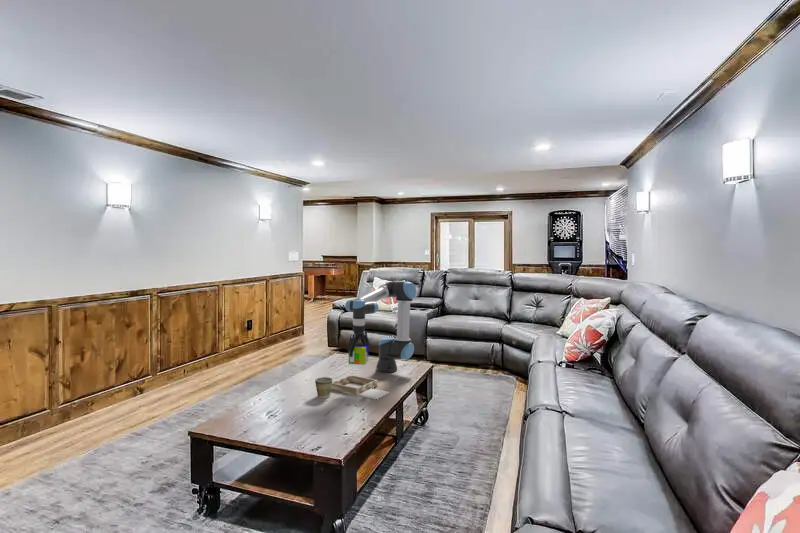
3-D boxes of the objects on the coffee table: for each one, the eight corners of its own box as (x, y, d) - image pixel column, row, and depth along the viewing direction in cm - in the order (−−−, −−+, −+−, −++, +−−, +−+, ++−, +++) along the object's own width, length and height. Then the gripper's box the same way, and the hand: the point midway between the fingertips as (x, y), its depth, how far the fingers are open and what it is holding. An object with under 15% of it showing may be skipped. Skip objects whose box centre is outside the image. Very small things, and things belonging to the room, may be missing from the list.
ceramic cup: (328, 399, 249) (328, 382, 248) (312, 398, 251) (312, 381, 250) (336, 392, 261) (336, 376, 261) (320, 391, 263) (320, 375, 263)
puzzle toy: (368, 360, 272) (368, 344, 271) (364, 364, 262) (364, 348, 261) (352, 359, 273) (352, 344, 273) (348, 363, 263) (348, 347, 263)
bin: (350, 381, 285) (350, 375, 285) (377, 386, 275) (377, 380, 275) (330, 389, 267) (330, 383, 267) (357, 395, 257) (357, 388, 256)
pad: (371, 389, 267) (371, 388, 267) (389, 393, 261) (389, 391, 261) (359, 395, 256) (359, 394, 256) (377, 399, 249) (377, 398, 249)
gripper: (365, 321, 279) (365, 354, 280) (341, 327, 258) (341, 362, 259) (375, 323, 275) (375, 356, 276) (351, 328, 254) (350, 364, 255)
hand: (358, 359), depth 267 cm, fingers closed on puzzle toy, 12 cm apart
